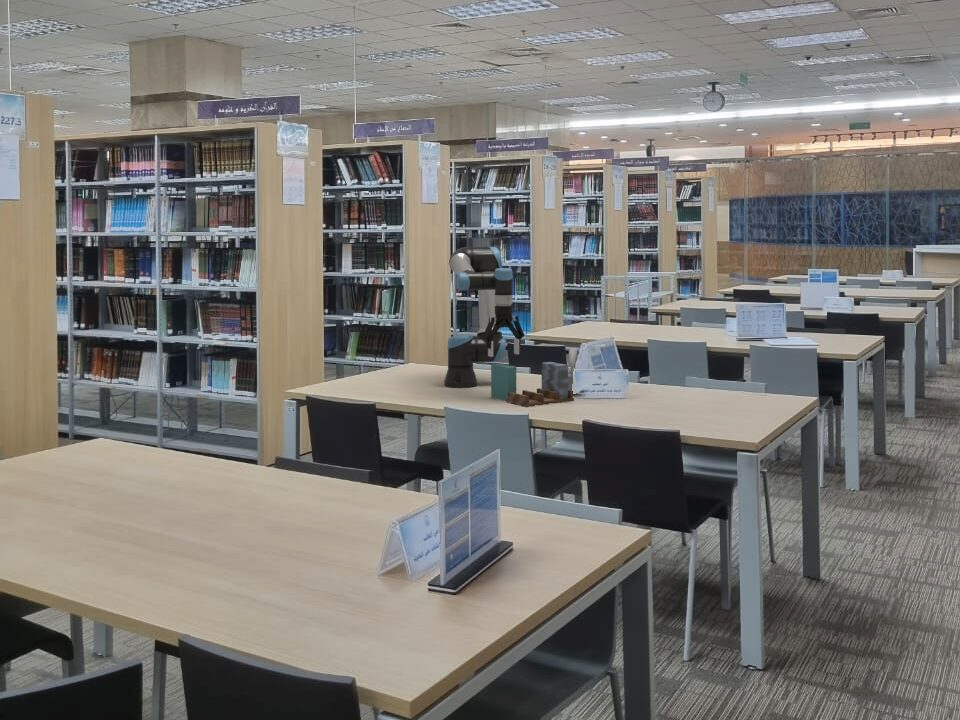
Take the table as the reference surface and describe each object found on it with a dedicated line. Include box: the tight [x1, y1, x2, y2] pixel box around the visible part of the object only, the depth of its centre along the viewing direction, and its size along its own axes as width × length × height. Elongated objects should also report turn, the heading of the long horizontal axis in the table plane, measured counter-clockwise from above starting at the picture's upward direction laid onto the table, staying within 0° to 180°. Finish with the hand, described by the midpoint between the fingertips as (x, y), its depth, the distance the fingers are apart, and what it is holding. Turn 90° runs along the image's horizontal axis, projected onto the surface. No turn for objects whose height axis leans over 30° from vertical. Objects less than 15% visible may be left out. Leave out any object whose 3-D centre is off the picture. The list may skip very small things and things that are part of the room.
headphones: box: [568, 347, 579, 390], centre depth 428 cm, size 19×9×20 cm, turn 171°
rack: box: [505, 361, 575, 408], centre depth 409 cm, size 14×25×15 cm, turn 125°
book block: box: [490, 363, 517, 401], centre depth 417 cm, size 12×4×14 cm, turn 35°
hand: (503, 355), depth 415 cm, fingers open, 13 cm apart
